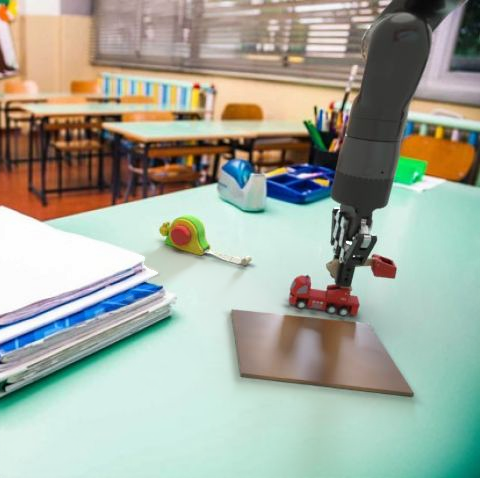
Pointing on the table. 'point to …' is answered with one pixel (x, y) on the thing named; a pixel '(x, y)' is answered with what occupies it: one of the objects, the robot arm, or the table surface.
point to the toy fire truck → (336, 288)
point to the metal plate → (315, 352)
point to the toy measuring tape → (193, 238)
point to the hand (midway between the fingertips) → (339, 281)
